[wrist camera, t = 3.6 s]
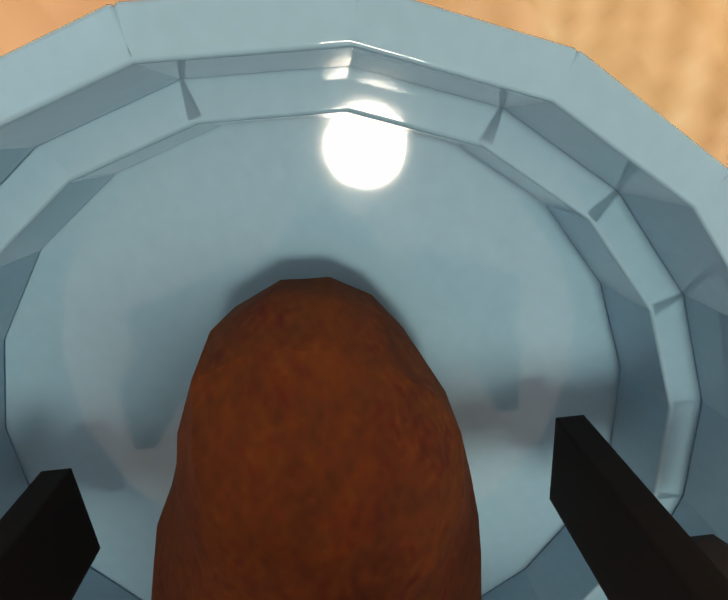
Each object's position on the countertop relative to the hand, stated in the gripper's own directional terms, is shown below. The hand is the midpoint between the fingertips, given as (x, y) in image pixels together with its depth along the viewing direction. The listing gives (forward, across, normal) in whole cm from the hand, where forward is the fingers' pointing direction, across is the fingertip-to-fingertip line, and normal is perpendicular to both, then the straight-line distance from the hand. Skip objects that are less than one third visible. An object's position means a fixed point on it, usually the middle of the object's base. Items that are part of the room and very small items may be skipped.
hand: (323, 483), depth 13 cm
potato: (+2, 0, 0) cm, 2 cm away
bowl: (+3, 0, 0) cm, 3 cm away
